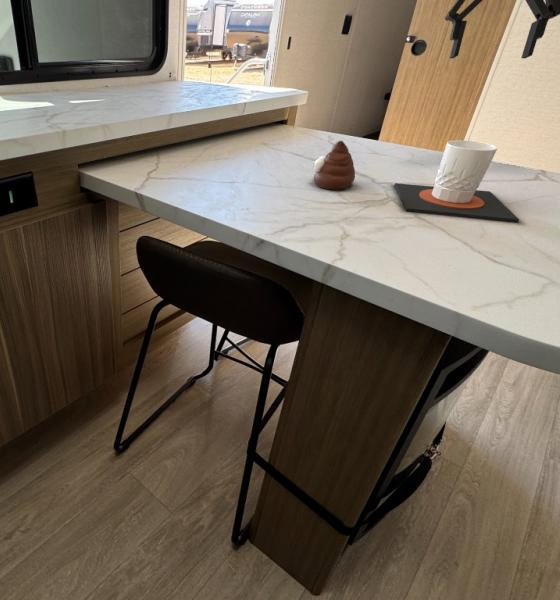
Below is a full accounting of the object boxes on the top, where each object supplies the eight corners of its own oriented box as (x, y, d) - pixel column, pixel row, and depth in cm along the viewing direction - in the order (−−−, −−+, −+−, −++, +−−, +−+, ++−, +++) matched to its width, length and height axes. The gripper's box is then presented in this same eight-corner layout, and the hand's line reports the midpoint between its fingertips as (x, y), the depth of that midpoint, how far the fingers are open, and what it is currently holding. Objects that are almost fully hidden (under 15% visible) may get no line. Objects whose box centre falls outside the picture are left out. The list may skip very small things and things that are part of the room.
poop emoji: (346, 193, 86) (358, 147, 81) (305, 186, 90) (314, 142, 85) (356, 181, 93) (368, 137, 88) (318, 175, 97) (327, 133, 92)
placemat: (488, 194, 86) (490, 189, 86) (518, 222, 73) (520, 217, 73) (394, 185, 91) (395, 181, 90) (405, 211, 78) (407, 206, 78)
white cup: (473, 195, 83) (496, 143, 77) (475, 207, 77) (499, 152, 72) (429, 188, 86) (447, 138, 81) (427, 200, 80) (446, 146, 75)
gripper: (586, -60, 83) (548, 61, 89) (445, -52, 89) (419, 60, 96) (614, -80, 76) (569, 52, 83) (459, -70, 82) (430, 52, 89)
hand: (489, 57), depth 89 cm, fingers open, 13 cm apart
